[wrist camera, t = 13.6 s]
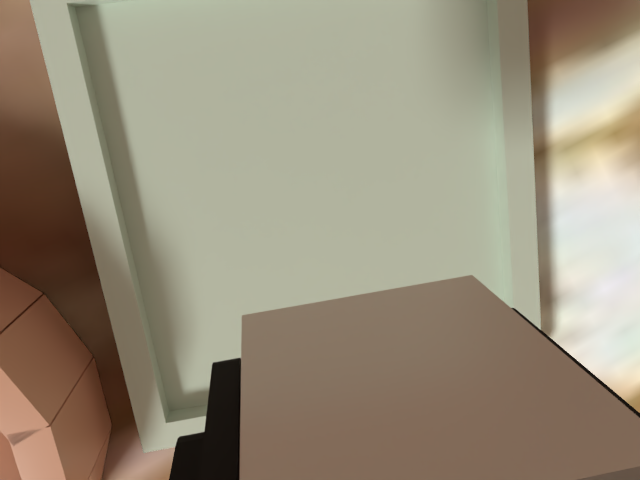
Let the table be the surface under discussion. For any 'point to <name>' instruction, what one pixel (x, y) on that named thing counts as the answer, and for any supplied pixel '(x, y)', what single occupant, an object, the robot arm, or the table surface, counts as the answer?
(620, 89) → the table surface
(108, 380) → the table surface
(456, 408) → the beige block
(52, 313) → the bowl
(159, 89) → the parts tray
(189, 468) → the robot arm
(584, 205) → the table surface
